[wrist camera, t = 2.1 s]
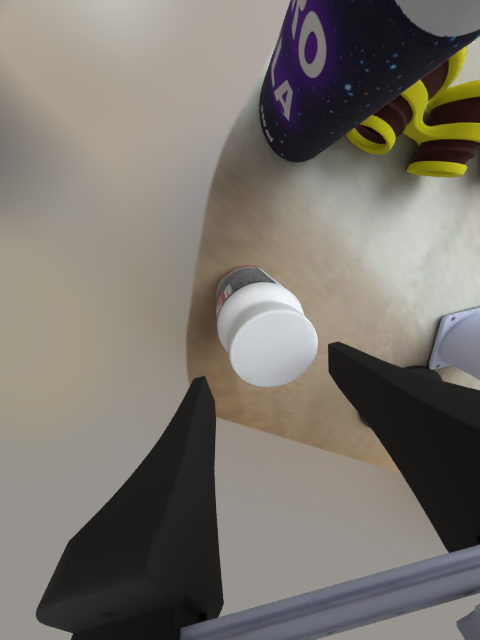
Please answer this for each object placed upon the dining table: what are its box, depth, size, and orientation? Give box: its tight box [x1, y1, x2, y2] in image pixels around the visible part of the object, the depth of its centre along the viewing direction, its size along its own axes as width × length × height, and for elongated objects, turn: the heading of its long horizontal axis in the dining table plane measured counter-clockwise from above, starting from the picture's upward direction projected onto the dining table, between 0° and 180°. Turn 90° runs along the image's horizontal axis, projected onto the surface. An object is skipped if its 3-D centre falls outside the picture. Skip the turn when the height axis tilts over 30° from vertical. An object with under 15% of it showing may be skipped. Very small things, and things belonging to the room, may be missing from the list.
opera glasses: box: [346, 46, 480, 177], centre depth 13 cm, size 10×5×5 cm, turn 74°
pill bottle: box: [216, 265, 318, 387], centre depth 14 cm, size 6×6×10 cm
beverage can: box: [259, 0, 480, 162], centre depth 8 cm, size 6×6×12 cm
